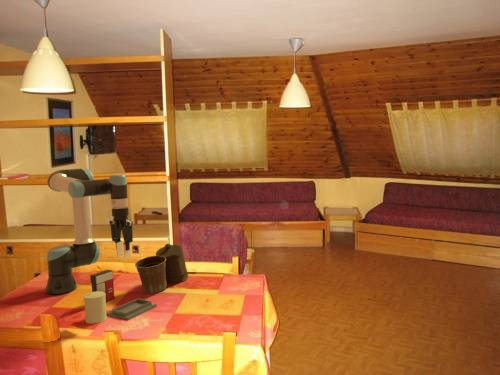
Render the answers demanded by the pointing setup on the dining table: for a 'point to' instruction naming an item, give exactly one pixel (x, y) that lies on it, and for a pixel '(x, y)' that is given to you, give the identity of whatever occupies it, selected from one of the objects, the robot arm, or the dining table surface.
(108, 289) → the red and grey box
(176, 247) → the wooden container
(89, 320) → the can
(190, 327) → the dining table surface
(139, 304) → the tray
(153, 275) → the plant pot
